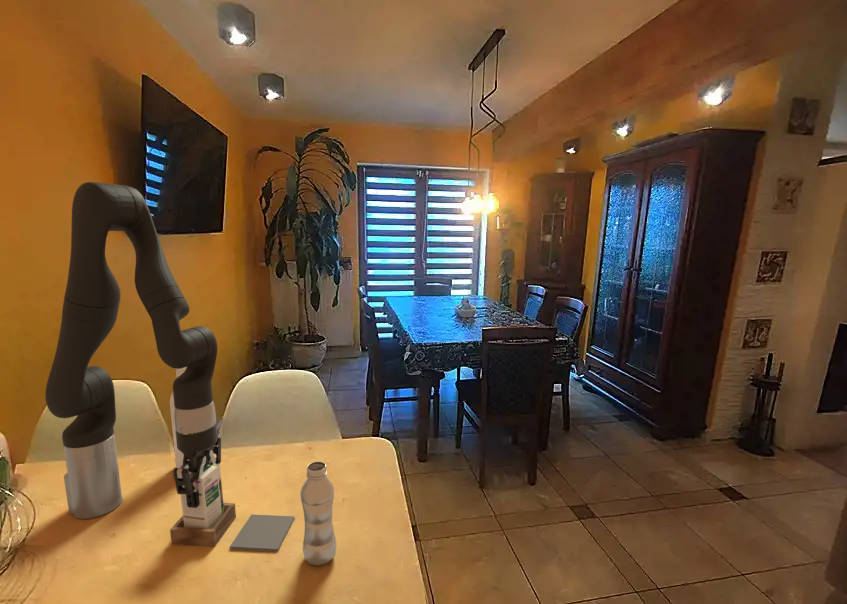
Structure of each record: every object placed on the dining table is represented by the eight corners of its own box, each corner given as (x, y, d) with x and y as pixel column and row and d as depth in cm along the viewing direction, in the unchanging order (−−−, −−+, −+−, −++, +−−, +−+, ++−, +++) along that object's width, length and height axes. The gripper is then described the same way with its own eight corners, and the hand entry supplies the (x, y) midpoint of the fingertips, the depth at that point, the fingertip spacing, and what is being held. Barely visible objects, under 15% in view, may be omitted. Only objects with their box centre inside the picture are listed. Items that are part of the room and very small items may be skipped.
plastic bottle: (320, 575, 83) (317, 480, 79) (295, 560, 87) (291, 468, 83) (343, 554, 88) (341, 464, 85) (319, 541, 92) (316, 453, 88)
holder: (171, 544, 90) (170, 529, 90) (196, 515, 99) (195, 501, 99) (214, 546, 90) (213, 531, 89) (236, 517, 99) (235, 503, 98)
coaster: (229, 549, 89) (229, 546, 89) (251, 516, 99) (251, 514, 99) (277, 551, 89) (277, 549, 89) (294, 518, 99) (294, 516, 99)
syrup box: (208, 541, 91) (203, 478, 89) (183, 537, 93) (177, 474, 90) (225, 523, 97) (221, 463, 94) (202, 519, 98) (197, 460, 95)
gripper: (197, 408, 97) (203, 476, 100) (155, 439, 83) (164, 518, 86) (230, 409, 97) (235, 478, 100) (193, 441, 83) (200, 520, 86)
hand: (202, 496), depth 93 cm, fingers closed on syrup box, 6 cm apart
